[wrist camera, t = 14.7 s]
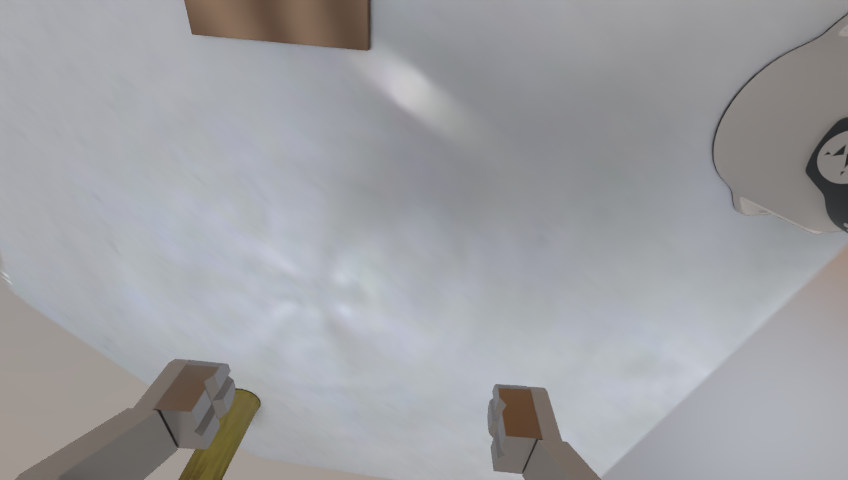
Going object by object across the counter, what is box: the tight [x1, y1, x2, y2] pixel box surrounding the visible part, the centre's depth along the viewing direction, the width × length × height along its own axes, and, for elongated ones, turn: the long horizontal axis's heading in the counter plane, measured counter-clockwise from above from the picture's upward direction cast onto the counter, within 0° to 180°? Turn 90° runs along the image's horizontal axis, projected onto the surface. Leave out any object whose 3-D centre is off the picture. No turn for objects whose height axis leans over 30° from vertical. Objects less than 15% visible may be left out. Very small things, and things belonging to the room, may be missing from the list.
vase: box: [179, 389, 260, 480], centre depth 54 cm, size 6×6×14 cm
